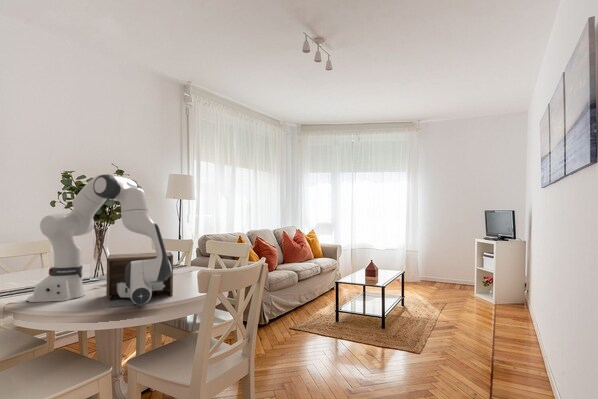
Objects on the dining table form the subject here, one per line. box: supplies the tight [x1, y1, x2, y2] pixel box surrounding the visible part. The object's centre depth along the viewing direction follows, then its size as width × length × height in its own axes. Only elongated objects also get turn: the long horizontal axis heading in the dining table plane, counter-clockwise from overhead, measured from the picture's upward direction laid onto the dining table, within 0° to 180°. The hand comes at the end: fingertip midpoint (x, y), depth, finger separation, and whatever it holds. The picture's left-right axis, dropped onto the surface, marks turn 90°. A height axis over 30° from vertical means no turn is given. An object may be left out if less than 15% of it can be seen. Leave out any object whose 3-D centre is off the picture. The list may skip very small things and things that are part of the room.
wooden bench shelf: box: [105, 251, 174, 302], centre depth 181 cm, size 15×28×19 cm, turn 113°
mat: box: [107, 298, 135, 308], centre depth 165 cm, size 10×10×1 cm
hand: (140, 283), depth 183 cm, fingers closed on block, 4 cm apart
